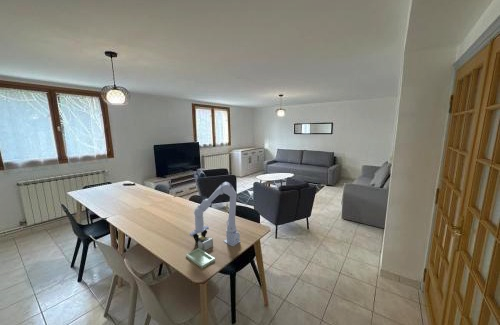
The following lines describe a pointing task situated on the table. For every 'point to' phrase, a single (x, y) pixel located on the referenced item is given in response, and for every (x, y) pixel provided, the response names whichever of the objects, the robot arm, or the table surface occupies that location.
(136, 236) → the table surface
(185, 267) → the table surface
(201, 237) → the grey block yellow label
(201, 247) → the bay
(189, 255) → the tray
